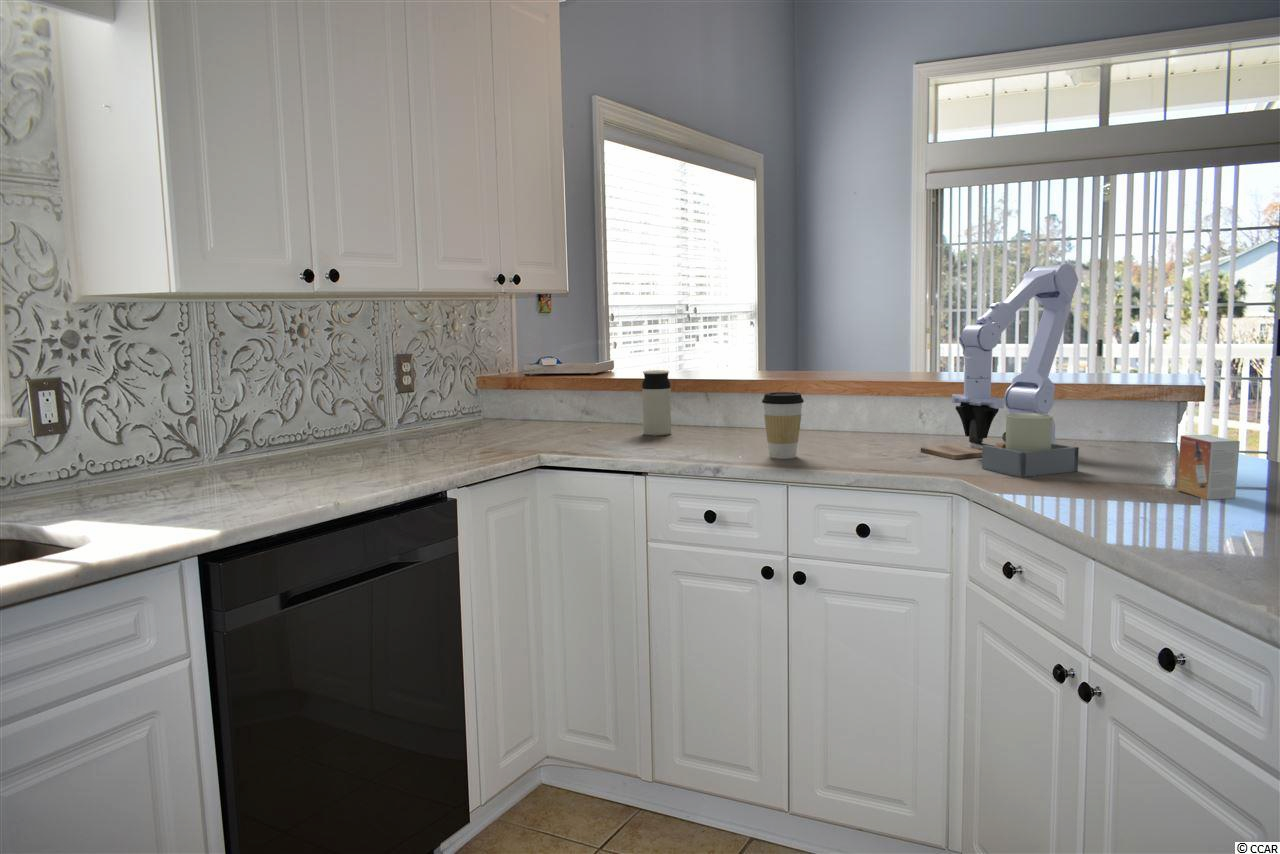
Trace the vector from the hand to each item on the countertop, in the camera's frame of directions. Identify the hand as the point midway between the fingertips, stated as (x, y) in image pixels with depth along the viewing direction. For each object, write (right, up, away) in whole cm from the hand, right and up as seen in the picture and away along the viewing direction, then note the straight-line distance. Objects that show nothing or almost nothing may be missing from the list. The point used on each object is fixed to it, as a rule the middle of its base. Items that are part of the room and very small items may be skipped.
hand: (976, 437), depth 204 cm
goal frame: (+6, -7, -14) cm, 17 cm away
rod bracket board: (-2, -4, +7) cm, 9 cm away
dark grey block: (+2, -5, -4) cm, 7 cm away
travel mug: (-72, 0, +51) cm, 88 cm away
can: (+6, -7, -14) cm, 16 cm away
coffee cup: (-43, -5, +9) cm, 44 cm away
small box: (+26, -10, -42) cm, 50 cm away
